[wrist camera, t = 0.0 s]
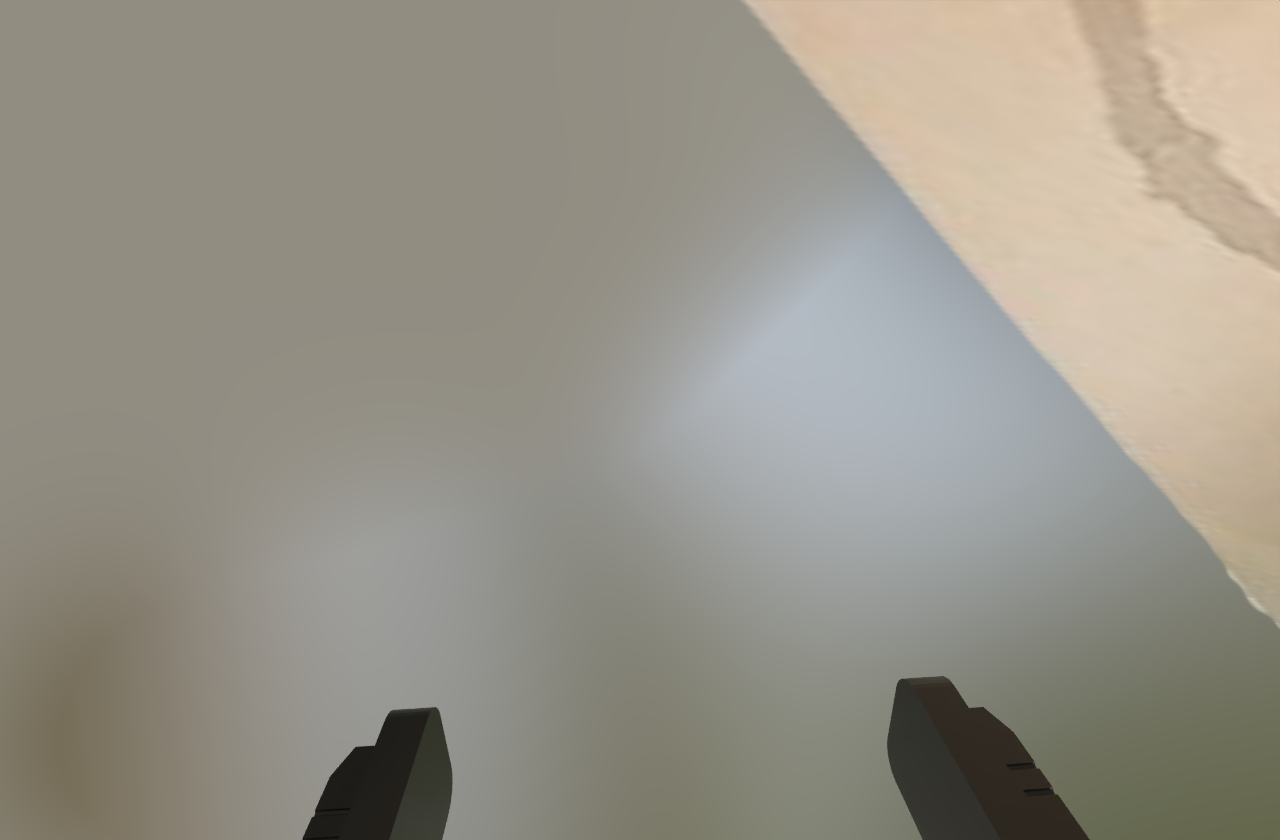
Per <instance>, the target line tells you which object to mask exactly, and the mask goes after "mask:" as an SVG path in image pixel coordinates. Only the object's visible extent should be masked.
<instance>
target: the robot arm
mask: <svg viewBox="0 0 1280 840" xmlns="http://www.w3.org/2000/svg"><path fill="white" fill-rule="evenodd" d="M887 749H888V757H889V762H890V766H891V770H892V773H893V775H894V778H895V781H896V783H897V785H898V787H899V789H900V792H901V794H902V796H903V798H904V800H905V802H906V804H907V806H908V809H909V811H910V813H911V815H912V817H913V819H914V822H915V824H916V826H917V828H918V830H919V832H920V835H921V837H922V839H923V840H1089V838H1088V837H1087V835H1086V834H1085V833H1084V831H1083V830H1082V828H1081V827H1080V825H1079V824H1078V823H1077V821H1076V820H1075V818H1074V817H1073V815H1072V814H1071V813H1070V811H1069V810H1068V808H1067V807H1066V806H1065V804H1064V803H1063V801H1062V800H1061V798H1060V797H1059V796H1058V795H1055V794H1054V792H1053V787H1052V786H1051V784H1050V783H1049V782H1048V780H1047V779H1046V777H1045V776H1044V775H1043V773H1042V772H1041V770H1040V769H1037V768H1036V766H1035V762H1034V760H1033V759H1032V758H1031V756H1030V755H1029V753H1028V752H1027V751H1026V749H1025V748H1024V746H1023V745H1022V744H1021V742H1020V741H1019V739H1018V738H1017V736H1016V735H1015V734H1014V732H1013V731H1011V730H1010V729H1009V728H1008V727H1007V726H1005V725H1004V724H1003V723H1002V722H1001V721H999V720H998V719H997V718H996V717H994V716H993V715H992V714H991V713H990V712H988V711H987V710H986V709H985V708H984V707H978V708H968V706H967V705H966V703H965V702H964V700H963V699H962V697H961V695H960V694H959V692H958V691H957V689H956V688H955V686H954V685H953V684H952V682H951V681H950V680H949V679H947V678H946V677H944V676H939V677H922V678H908V679H900V680H899V682H898V683H897V687H896V693H895V698H894V704H893V710H892V716H891V722H890V728H889V733H888V741H887ZM451 795H452V768H451V762H450V758H449V753H448V749H447V744H446V740H445V735H444V730H443V725H442V721H441V717H440V712H439V710H438V709H437V708H436V707H434V708H433V707H432V708H418V709H402V710H392V711H390V713H389V714H388V715H387V717H386V719H385V722H384V724H383V727H382V729H381V732H380V734H379V737H378V739H377V742H376V745H375V746H363V747H355V748H354V749H353V751H352V752H351V753H350V754H349V755H348V757H347V758H346V759H345V760H344V761H343V762H342V763H341V765H340V766H339V767H338V768H337V769H336V770H335V772H334V773H333V774H332V775H331V776H330V778H329V780H328V782H327V785H326V787H325V789H324V791H323V794H322V796H321V798H320V800H319V803H318V805H317V807H316V810H315V816H314V817H312V818H311V821H310V823H309V825H308V828H307V830H306V832H305V834H304V836H303V840H442V838H443V834H444V830H445V826H446V821H447V817H448V813H449V809H450V803H451Z"/></svg>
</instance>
